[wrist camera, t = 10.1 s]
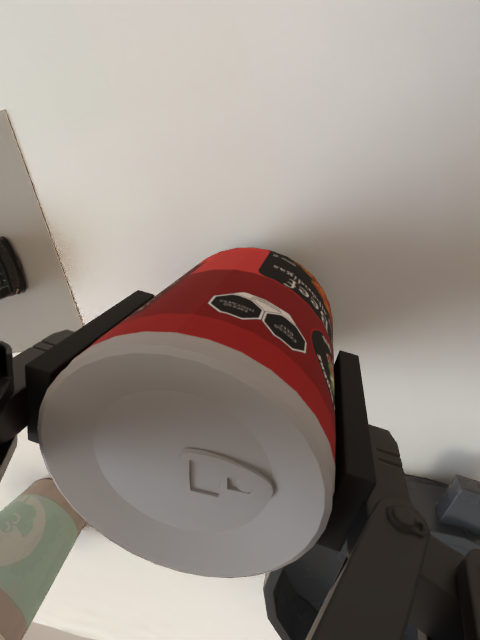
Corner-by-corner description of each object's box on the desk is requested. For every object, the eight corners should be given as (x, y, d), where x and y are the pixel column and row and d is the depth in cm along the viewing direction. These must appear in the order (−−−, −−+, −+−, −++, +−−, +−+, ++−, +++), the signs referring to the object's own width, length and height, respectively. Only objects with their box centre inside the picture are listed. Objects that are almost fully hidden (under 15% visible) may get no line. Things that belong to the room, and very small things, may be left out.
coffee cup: (98, 478, 30) (-31, 651, 20) (106, 547, 34) (0, 726, 23) (8, 456, 32) (-156, 605, 21) (25, 524, 35) (-109, 681, 25)
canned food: (343, 372, 19) (357, 592, 9) (203, 386, 22) (96, 573, 12) (319, 226, 17) (303, 317, 7) (163, 259, 19) (-16, 363, 9)
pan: (622, 502, 21) (680, 570, 17) (442, 685, 31) (457, 752, 27) (322, 406, 23) (321, 450, 19) (243, 607, 33) (233, 660, 29)
